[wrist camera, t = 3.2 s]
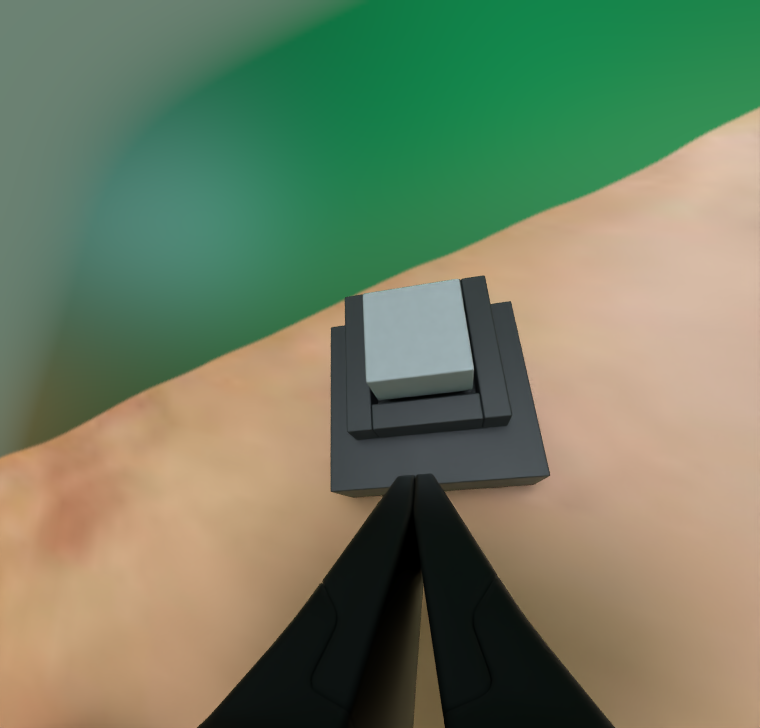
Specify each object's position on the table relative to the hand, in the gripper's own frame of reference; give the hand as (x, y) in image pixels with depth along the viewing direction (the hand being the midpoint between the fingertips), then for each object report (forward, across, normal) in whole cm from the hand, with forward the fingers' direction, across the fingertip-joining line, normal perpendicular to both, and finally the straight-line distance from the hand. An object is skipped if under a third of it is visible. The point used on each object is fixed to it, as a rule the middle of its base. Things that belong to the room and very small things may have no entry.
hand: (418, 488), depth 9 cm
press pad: (+10, 0, 0) cm, 10 cm away
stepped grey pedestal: (+13, 0, +5) cm, 14 cm away
